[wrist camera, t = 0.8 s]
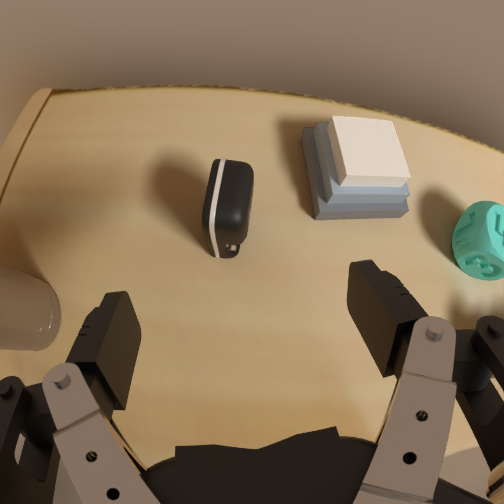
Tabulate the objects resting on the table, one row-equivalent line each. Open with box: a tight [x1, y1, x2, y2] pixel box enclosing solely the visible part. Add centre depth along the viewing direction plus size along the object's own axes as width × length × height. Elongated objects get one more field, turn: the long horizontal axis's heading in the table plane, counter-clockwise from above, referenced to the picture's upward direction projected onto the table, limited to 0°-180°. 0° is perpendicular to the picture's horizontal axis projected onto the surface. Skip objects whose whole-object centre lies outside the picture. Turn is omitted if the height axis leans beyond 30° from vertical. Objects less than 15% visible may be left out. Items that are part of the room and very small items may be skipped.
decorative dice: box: [452, 201, 504, 281], centre depth 34 cm, size 8×8×8 cm
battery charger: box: [202, 158, 254, 259], centre depth 31 cm, size 7×4×11 cm, turn 173°
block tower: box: [301, 116, 410, 220], centre depth 36 cm, size 12×12×8 cm
